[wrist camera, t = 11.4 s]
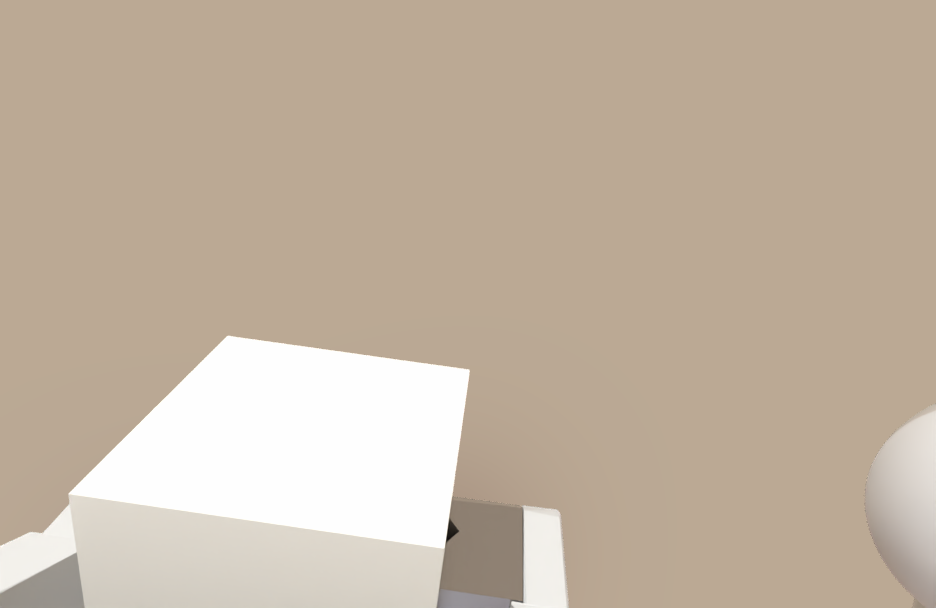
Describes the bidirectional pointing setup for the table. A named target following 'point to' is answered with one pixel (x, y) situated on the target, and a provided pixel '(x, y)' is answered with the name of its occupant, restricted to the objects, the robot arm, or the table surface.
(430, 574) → the bar
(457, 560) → the robot arm
